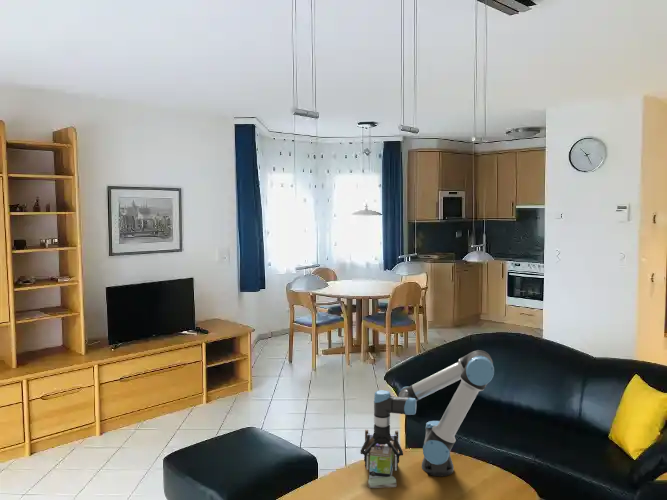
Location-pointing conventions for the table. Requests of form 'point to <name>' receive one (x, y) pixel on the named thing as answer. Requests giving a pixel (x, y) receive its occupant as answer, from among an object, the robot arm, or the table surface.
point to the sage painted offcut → (381, 481)
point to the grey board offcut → (384, 485)
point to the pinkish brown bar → (382, 487)
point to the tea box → (381, 461)
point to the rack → (372, 441)
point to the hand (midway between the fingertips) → (381, 468)
